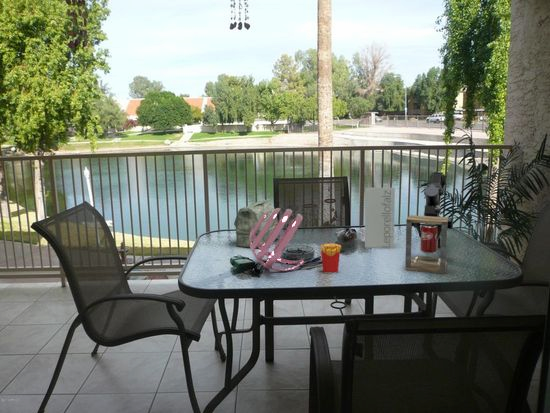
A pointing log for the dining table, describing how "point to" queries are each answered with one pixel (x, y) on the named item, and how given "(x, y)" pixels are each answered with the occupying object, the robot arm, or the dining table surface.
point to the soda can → (429, 238)
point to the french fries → (330, 257)
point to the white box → (379, 217)
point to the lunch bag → (253, 222)
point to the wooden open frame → (420, 261)
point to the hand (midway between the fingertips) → (428, 237)
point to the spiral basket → (273, 235)
